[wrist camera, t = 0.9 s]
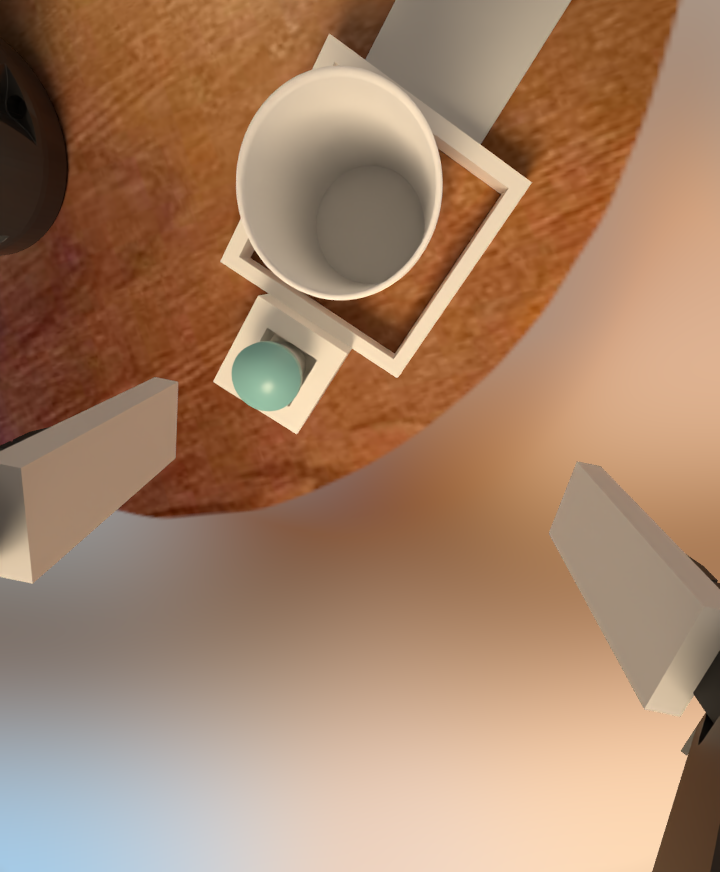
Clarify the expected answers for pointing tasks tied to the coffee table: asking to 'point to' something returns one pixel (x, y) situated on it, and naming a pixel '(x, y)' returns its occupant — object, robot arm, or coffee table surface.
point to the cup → (339, 183)
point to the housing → (322, 329)
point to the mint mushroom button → (268, 374)
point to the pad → (463, 53)
